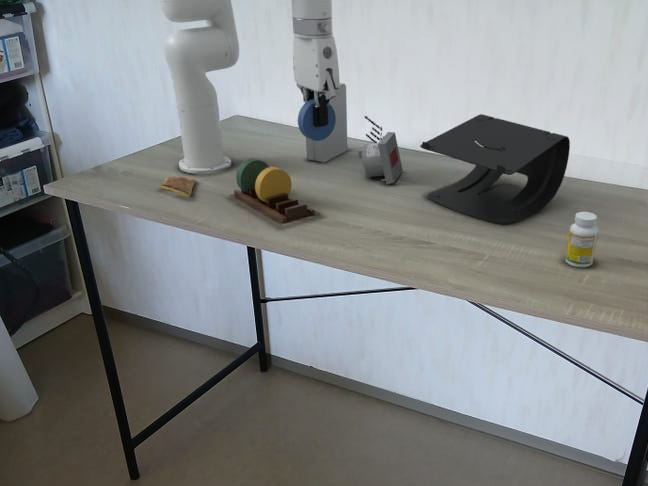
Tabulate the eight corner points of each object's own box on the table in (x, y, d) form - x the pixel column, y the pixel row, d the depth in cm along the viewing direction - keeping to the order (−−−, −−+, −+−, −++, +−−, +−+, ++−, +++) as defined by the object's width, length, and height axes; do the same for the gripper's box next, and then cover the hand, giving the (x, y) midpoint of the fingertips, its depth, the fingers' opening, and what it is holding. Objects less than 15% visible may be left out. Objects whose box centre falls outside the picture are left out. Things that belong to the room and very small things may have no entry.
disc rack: (229, 198, 168) (227, 184, 167) (267, 188, 174) (266, 175, 172) (280, 228, 155) (279, 213, 153) (320, 217, 160) (319, 203, 159)
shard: (191, 200, 166) (190, 193, 165) (155, 201, 165) (154, 193, 164) (196, 183, 175) (195, 176, 174) (163, 184, 174) (162, 177, 173)
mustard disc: (255, 205, 162) (254, 168, 158) (286, 200, 167) (286, 164, 163) (259, 207, 161) (259, 171, 157) (291, 202, 166) (292, 167, 162)
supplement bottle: (584, 270, 142) (591, 223, 137) (559, 262, 145) (566, 215, 140) (597, 261, 145) (605, 215, 140) (573, 253, 148) (580, 208, 143)
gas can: (318, 166, 188) (313, 62, 174) (301, 163, 190) (295, 59, 176) (348, 150, 200) (346, 51, 186) (332, 147, 201) (329, 48, 188)
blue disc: (298, 141, 153) (296, 101, 148) (331, 135, 157) (329, 96, 153) (304, 144, 151) (301, 103, 147) (336, 137, 156) (335, 98, 151)
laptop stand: (566, 201, 172) (576, 134, 164) (504, 229, 157) (511, 157, 149) (480, 174, 186) (484, 111, 178) (415, 197, 172) (417, 130, 163)
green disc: (238, 196, 167) (234, 161, 163) (269, 189, 172) (266, 154, 167) (242, 199, 166) (238, 164, 161) (273, 191, 170) (270, 157, 166)
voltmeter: (414, 182, 180) (415, 142, 174) (370, 188, 176) (369, 146, 170) (375, 150, 200) (375, 112, 195) (335, 154, 196) (333, 116, 191)
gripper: (353, 31, 139) (355, 130, 149) (306, 19, 150) (311, 112, 160) (319, 35, 135) (323, 136, 145) (273, 22, 145) (280, 118, 155)
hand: (317, 123), depth 152 cm, fingers closed on blue disc, 2 cm apart
